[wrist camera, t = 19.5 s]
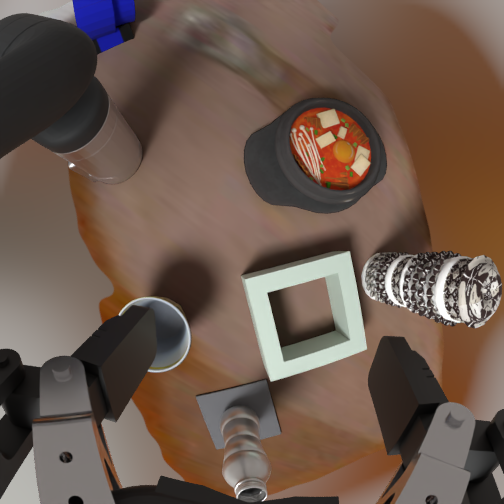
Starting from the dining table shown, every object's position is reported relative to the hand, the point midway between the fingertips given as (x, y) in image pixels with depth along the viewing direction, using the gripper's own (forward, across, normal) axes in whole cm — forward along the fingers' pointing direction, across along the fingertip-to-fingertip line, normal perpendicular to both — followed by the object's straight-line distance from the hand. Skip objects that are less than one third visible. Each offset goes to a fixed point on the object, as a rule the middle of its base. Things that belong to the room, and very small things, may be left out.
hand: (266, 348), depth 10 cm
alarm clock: (+42, -36, +33) cm, 65 cm away
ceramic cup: (+30, -16, -20) cm, 39 cm away
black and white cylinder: (+40, +19, -11) cm, 45 cm away
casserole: (+43, +5, +7) cm, 44 cm away
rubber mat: (+28, -2, -35) cm, 44 cm away
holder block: (+35, +5, -16) cm, 39 cm away
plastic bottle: (+28, -2, -35) cm, 44 cm away
